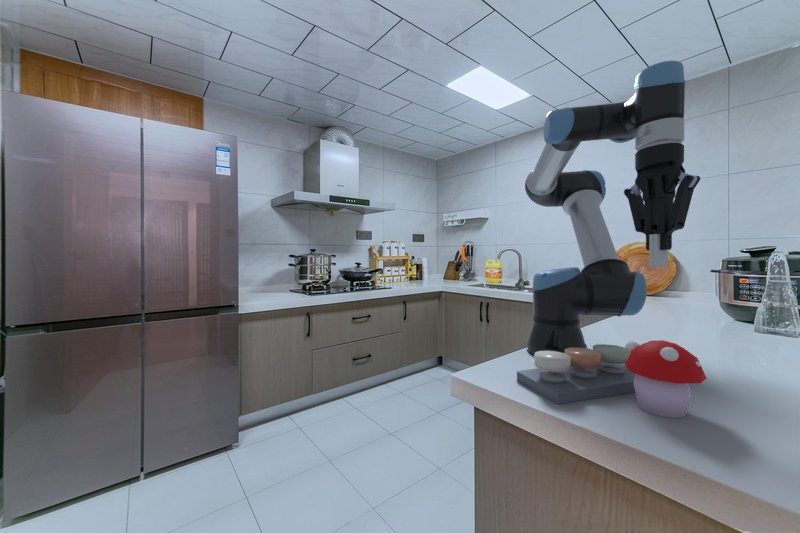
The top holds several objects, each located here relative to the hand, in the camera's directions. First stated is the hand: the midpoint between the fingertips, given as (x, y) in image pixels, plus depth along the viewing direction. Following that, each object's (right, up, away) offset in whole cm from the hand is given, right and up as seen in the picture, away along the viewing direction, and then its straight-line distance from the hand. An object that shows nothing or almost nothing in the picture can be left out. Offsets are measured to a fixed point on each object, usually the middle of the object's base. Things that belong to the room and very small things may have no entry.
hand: (658, 266), depth 64 cm
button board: (-14, -25, +3) cm, 28 cm away
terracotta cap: (-14, -20, +3) cm, 24 cm away
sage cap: (-6, -20, +5) cm, 21 cm away
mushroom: (-6, -25, -8) cm, 27 cm away
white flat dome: (-21, -20, +1) cm, 29 cm away
